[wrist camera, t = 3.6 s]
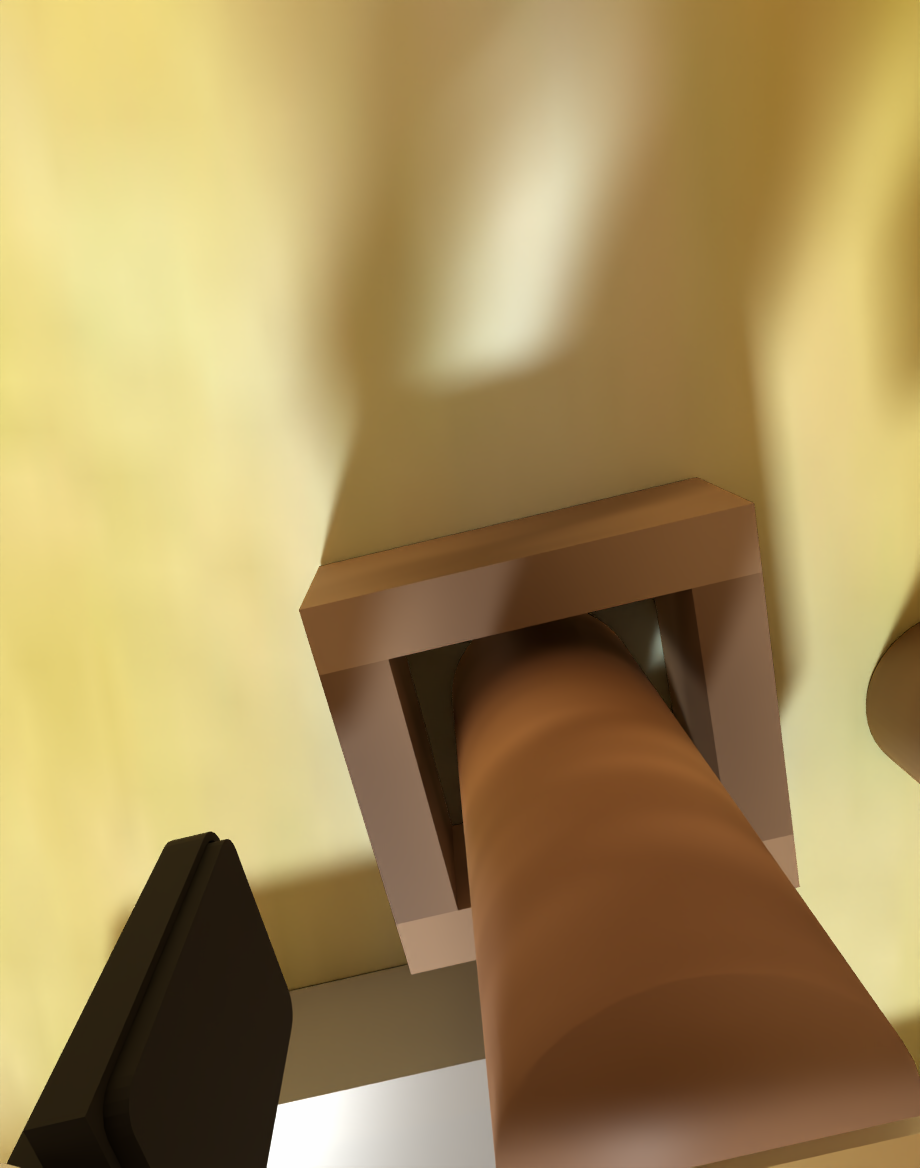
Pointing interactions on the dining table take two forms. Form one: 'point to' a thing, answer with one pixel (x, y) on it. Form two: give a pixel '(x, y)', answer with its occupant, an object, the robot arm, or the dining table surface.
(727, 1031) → the dowel
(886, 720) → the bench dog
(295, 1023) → the tray
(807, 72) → the dining table surface
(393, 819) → the socket block
